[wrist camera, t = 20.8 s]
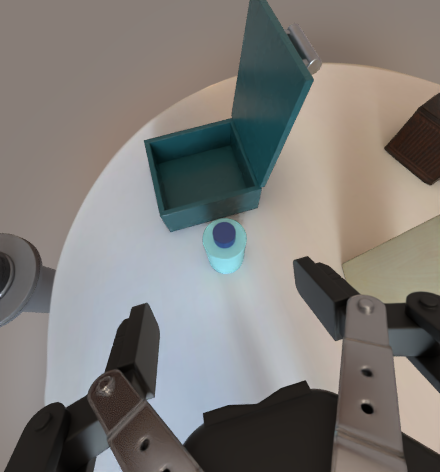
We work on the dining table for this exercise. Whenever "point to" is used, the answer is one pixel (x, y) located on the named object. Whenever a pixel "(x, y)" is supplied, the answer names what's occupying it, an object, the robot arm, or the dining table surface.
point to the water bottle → (225, 244)
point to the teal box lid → (270, 85)
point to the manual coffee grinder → (420, 142)
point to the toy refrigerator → (399, 265)
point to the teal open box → (201, 175)
